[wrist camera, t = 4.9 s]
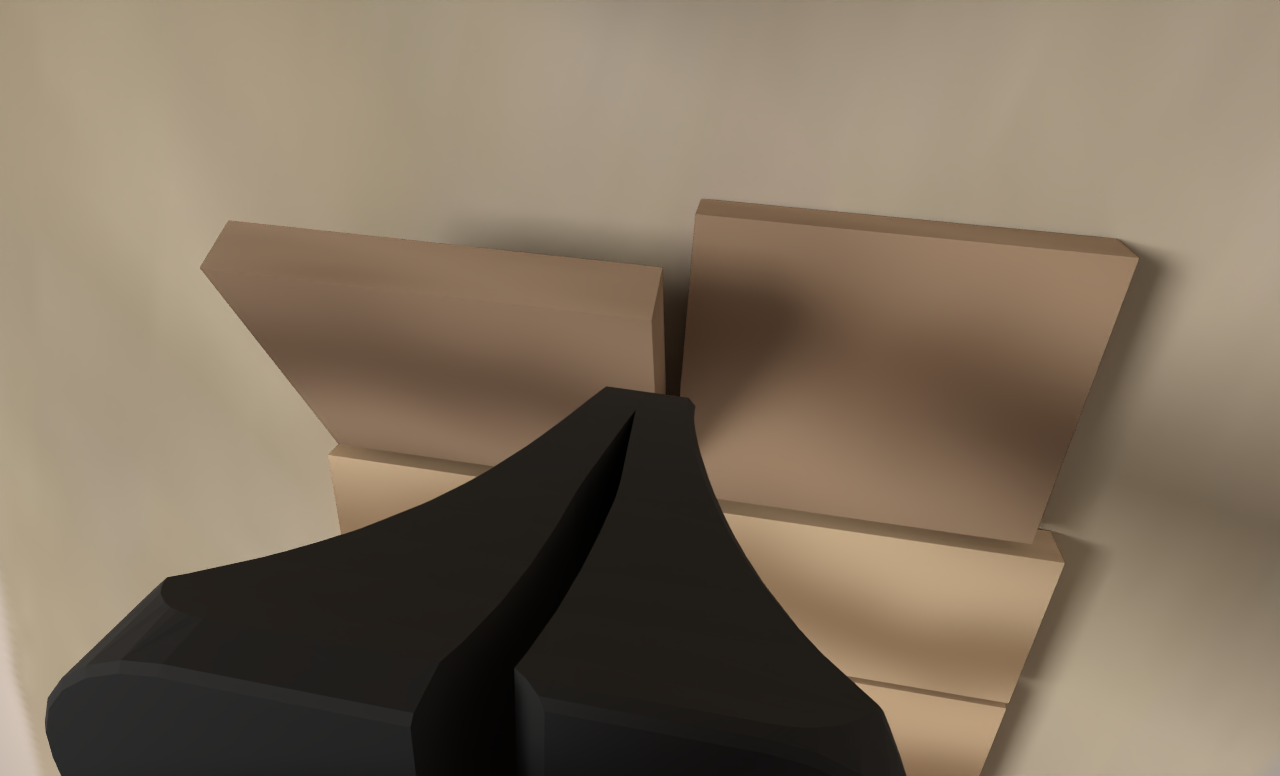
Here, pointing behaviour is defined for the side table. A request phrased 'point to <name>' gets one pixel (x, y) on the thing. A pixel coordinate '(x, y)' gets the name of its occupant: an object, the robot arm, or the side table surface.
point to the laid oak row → (840, 600)
